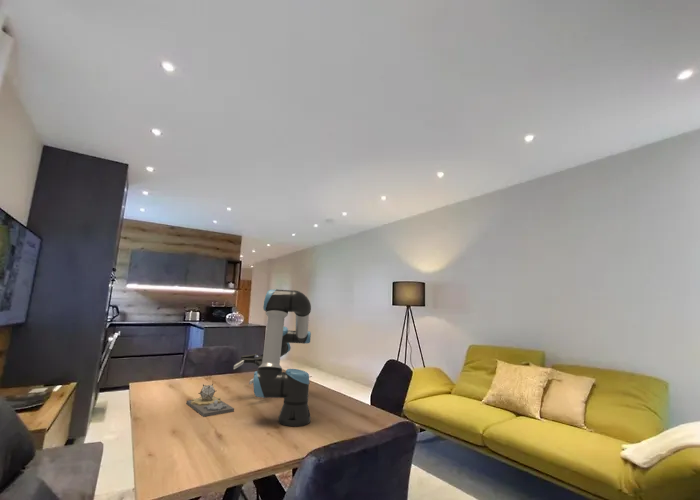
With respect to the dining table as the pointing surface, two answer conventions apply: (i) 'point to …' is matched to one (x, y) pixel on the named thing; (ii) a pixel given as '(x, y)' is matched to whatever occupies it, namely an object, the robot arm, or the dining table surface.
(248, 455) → the dining table surface
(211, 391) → the game die
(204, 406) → the gear board
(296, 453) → the dining table surface
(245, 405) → the dining table surface
